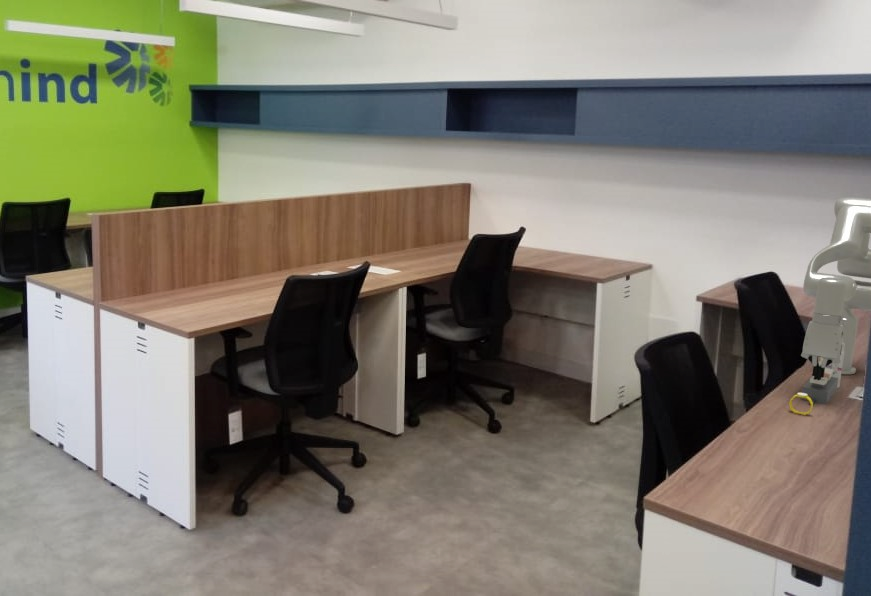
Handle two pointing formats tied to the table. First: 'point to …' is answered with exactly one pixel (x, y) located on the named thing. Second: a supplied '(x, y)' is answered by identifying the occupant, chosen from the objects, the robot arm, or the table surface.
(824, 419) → the table surface
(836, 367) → the ink cartridge box
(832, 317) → the robot arm
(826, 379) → the plate
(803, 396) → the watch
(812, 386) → the rocker switch panel
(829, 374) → the rocker
